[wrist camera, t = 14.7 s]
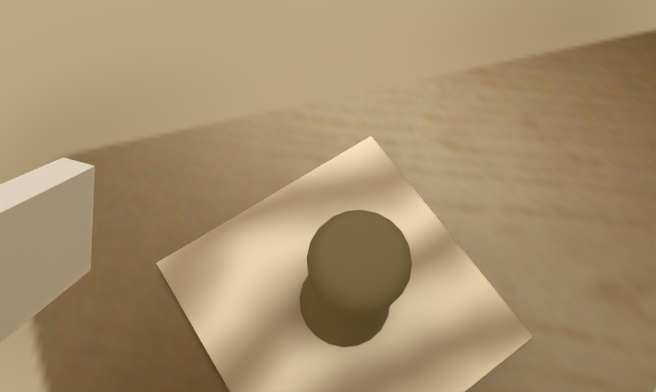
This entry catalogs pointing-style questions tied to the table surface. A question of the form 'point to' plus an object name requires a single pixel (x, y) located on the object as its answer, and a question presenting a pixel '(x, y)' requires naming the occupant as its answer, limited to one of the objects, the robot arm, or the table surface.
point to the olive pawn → (353, 277)
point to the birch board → (291, 271)
